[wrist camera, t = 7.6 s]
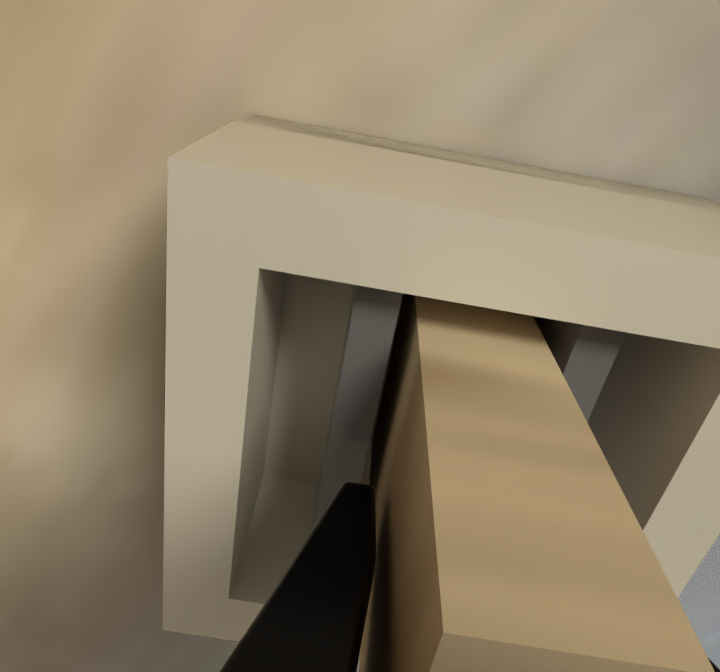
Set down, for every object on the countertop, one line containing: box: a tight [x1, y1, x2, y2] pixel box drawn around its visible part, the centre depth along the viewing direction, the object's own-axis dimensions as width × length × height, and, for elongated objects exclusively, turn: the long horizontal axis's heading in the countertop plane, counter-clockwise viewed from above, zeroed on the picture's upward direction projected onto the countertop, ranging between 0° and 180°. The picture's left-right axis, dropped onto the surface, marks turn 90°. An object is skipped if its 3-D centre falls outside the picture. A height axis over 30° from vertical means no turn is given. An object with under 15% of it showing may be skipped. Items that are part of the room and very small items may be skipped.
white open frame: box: [163, 114, 720, 660], centre depth 10 cm, size 8×8×4 cm
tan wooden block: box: [359, 294, 715, 672], centre depth 8 cm, size 4×2×7 cm, turn 170°
